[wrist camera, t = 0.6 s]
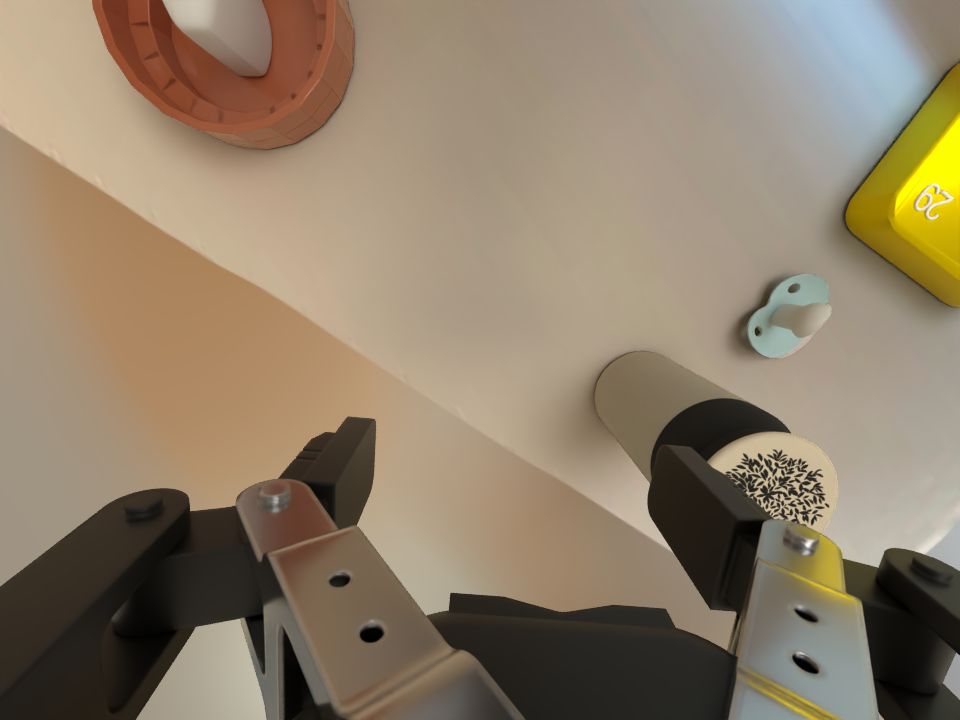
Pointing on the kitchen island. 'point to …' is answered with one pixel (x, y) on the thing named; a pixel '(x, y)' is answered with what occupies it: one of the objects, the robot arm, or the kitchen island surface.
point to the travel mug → (715, 436)
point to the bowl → (220, 91)
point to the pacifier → (790, 316)
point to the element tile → (918, 197)
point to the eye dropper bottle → (227, 31)
